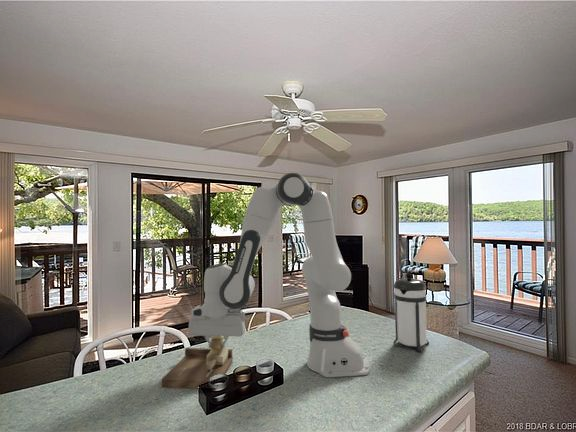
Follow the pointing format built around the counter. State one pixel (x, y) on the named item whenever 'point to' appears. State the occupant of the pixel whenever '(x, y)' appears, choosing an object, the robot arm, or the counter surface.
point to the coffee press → (410, 312)
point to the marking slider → (216, 353)
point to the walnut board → (194, 369)
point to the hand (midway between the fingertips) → (217, 347)
